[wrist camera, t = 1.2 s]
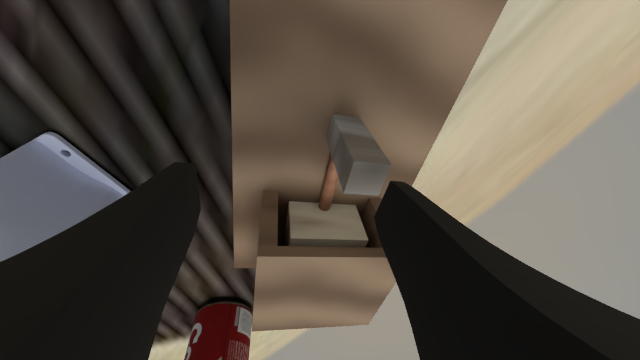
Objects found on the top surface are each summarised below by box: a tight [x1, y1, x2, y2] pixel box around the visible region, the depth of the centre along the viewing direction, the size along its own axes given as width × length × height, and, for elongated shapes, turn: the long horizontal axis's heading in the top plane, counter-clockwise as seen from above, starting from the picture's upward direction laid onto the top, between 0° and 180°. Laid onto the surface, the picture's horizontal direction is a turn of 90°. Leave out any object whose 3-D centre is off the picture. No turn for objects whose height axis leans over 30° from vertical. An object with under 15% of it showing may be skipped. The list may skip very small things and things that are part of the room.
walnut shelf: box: [230, 0, 507, 331], centre depth 16 cm, size 28×15×7 cm, turn 169°
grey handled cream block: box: [282, 114, 392, 248], centre depth 18 cm, size 14×6×6 cm, turn 169°
